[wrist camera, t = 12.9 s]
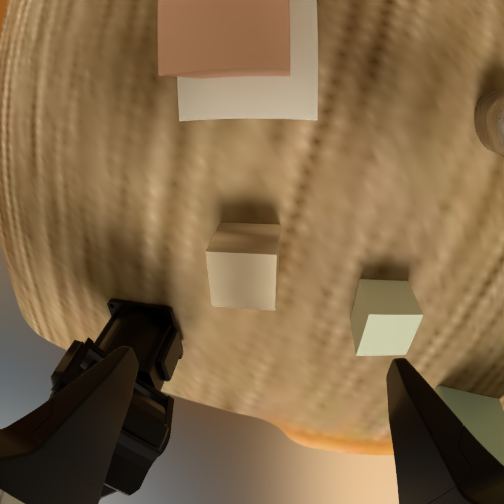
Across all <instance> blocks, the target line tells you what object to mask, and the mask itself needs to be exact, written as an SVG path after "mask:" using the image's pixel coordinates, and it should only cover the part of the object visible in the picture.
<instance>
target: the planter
mask: <svg viewBox="0 0 504 504" xmlns="http://www.w3.org/2000/svg"><path fill="white" fill-rule="evenodd" d="M435 392H436V393H437V394H438V395H439V396H440V397H441V399H442V400H443V401H444V402H445V403H446V404H447V405H448V407H449V408H450V409H451V410H452V411H453V412H454V414H455V415H456V416H457V417H458V418H459V419H460V421H461V422H462V423H463V425H465V426H466V428H467V429H468V430H469V431H470V432H471V433H472V434H473V436H474V437H475V438H476V439H477V440H478V441H479V442H480V443H481V444H482V445H483V446H484V447H485V448H486V449H487V450H488V451H489V452H490V453H491V454H492V455H493V456H494V457H495V458H496V459H497V460H498V461H499V462H500V463H501V464H503V465H504V411H503V408H502V405H501V403H500V400H499V399H498V398H493V397H488V396H484V395H479V394H474V393H470V392H466V391H461V390H457V389H453V388H449V387H445V386H440V385H439V386H437V387H436V389H435Z"/></svg>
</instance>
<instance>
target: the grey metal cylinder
mask: <svg viewBox="0 0 504 504" xmlns="http://www.w3.org/2000/svg"><path fill="white" fill-rule="evenodd" d="M474 122H475V128H476V132H477V135H478V137H479V139H480V141H481V142H482V144H483V145H484V146H485V147H486V148H487V149H489V150H490V151H492V152H495V153H497V154H499V155H501V156H503V157H504V92H497V91H490V92H487V93H485V94H484V95H483V96H482V97H481V98H480V99H479V101H478V103H477V105H476V108H475V114H474Z"/></svg>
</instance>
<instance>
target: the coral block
mask: <svg viewBox="0 0 504 504" xmlns="http://www.w3.org/2000/svg"><path fill="white" fill-rule="evenodd" d="M158 75H159V76H170V77H186V78H198V79H206V78H221V77H244V76H287V77H290V6H289V0H158Z"/></svg>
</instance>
